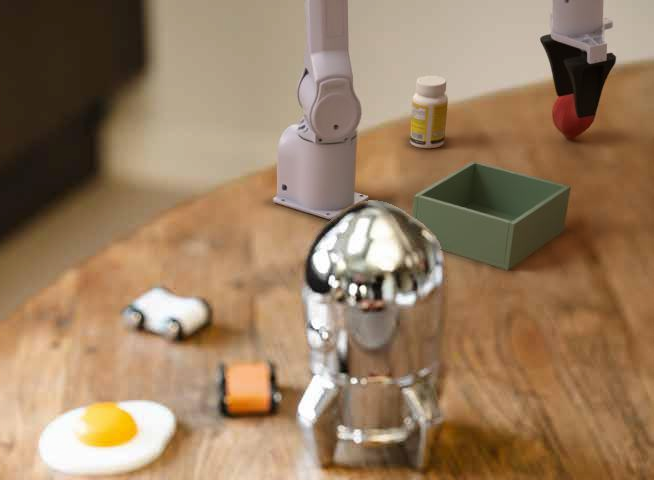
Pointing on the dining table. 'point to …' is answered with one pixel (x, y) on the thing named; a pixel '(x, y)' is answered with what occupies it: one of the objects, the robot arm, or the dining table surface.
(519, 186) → the bin
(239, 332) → the dining table surface
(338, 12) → the robot arm
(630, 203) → the dining table surface
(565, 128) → the onion
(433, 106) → the supplement bottle
